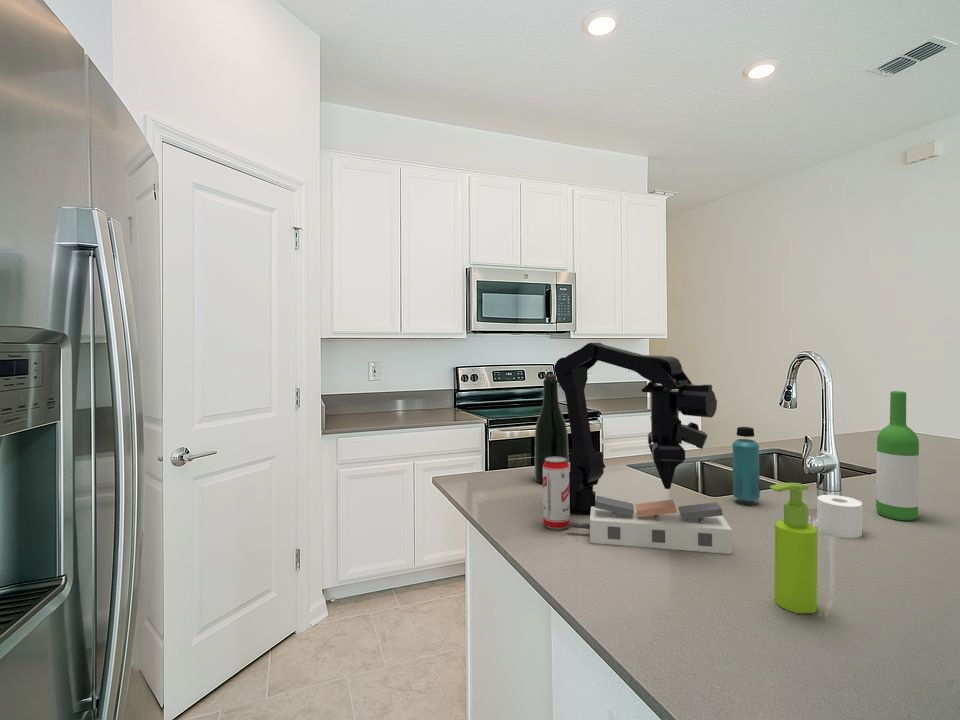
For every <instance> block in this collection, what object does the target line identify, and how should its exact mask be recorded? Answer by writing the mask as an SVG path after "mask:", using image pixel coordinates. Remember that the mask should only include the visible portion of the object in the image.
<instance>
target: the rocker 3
mask: <svg viewBox="0 0 960 720" xmlns="http://www.w3.org/2000/svg"><path fill="white" fill-rule="evenodd" d="M678 512H679V513H680V515H681V518H682V520H688V519H696V518H705V517H714V516H723V517H724V513H723V509H722V507H721V506H720V504H719V502H718V501H715V502H706V503H699V504H688V505H681V506H678Z"/></svg>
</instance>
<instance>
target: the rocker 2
mask: <svg viewBox="0 0 960 720" xmlns="http://www.w3.org/2000/svg"><path fill="white" fill-rule="evenodd" d="M634 505H635V509H636V511H637V516H638V517H644V516H652V515H661V514H669V513H677V512H678V511H677V507H676V504H675V502H674V500H673V499H667V500H659V501H650V502H643V503H636V504H634Z"/></svg>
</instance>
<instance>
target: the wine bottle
mask: <svg viewBox="0 0 960 720" xmlns="http://www.w3.org/2000/svg"><path fill="white" fill-rule="evenodd" d="M889 394H890V397H889V398H890V399H889V400H890V403H889V424H888V425H886V426H885V427H883V428H882V429H881V430H880V431H879V432H878V435H877V439H876V472H875V473H876V478H875V479H876V482H875V483H876V484H875V499H876V500H875V509H876V512H877V513H878V514H879V515H880V516H882V517H884V518H888V519H891V520H897V521H905V522H906V521H914V520H916V519H917V517H918V514H919V482H920V481H919V474H920V473H919V472H920V469H919V468H920V460H919V459H920V442H919V437H918V436H917V434H916V433H915V432H914V430H913V429H912V428H910V427H908V425H907V392H906V391H900V390H894V391H893V390H892V391H890V393H889Z"/></svg>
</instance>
